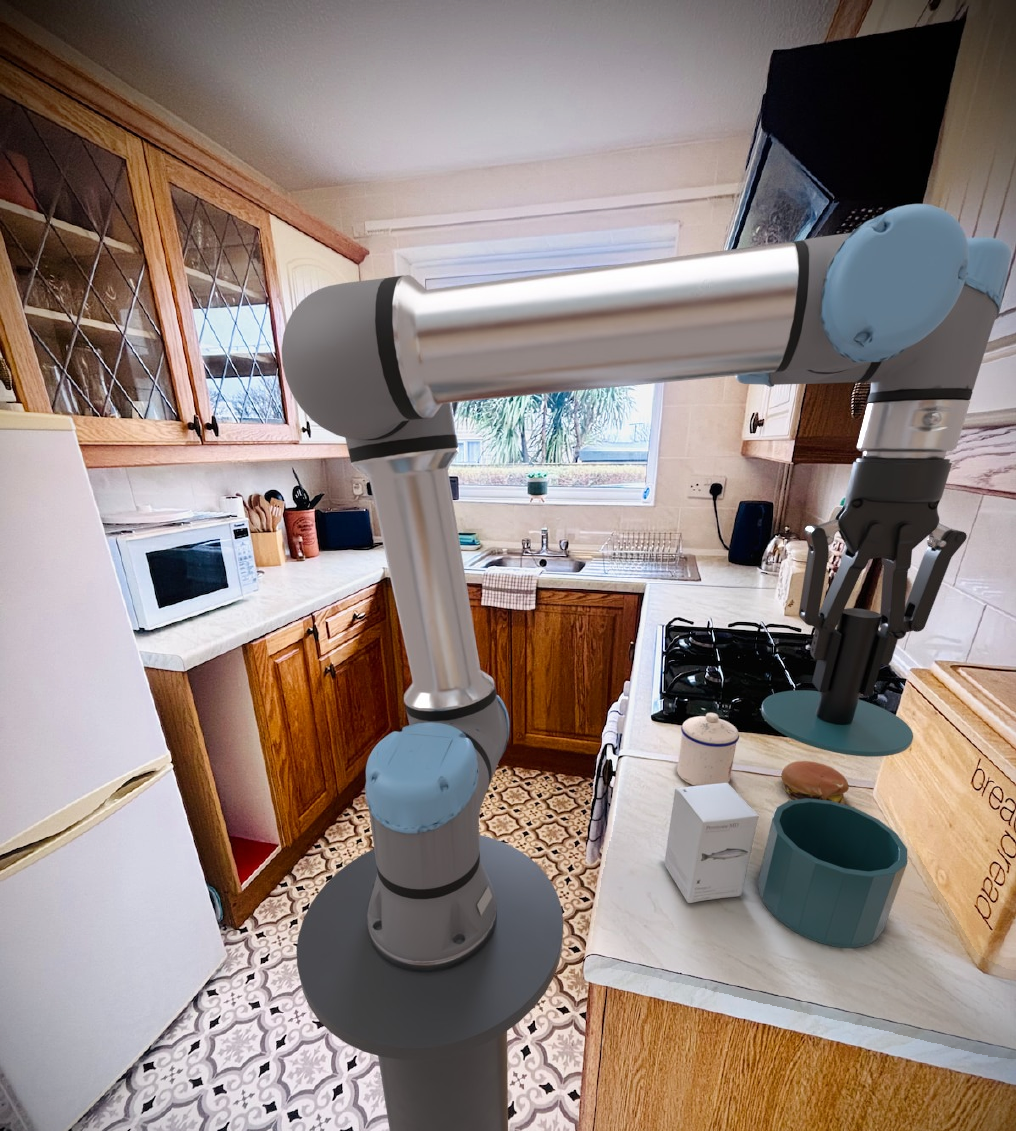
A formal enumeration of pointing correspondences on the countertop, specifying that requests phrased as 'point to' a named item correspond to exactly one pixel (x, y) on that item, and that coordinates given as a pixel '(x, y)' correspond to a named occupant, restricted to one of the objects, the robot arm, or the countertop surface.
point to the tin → (831, 872)
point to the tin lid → (842, 701)
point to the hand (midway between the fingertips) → (841, 688)
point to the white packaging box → (709, 841)
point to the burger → (814, 781)
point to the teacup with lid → (707, 750)
